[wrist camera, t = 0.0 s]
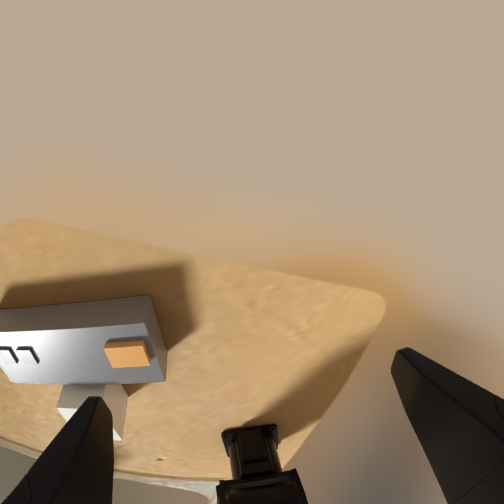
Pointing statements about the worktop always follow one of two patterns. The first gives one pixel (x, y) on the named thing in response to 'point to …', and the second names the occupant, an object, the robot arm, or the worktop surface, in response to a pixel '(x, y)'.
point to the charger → (110, 393)
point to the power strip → (84, 343)
